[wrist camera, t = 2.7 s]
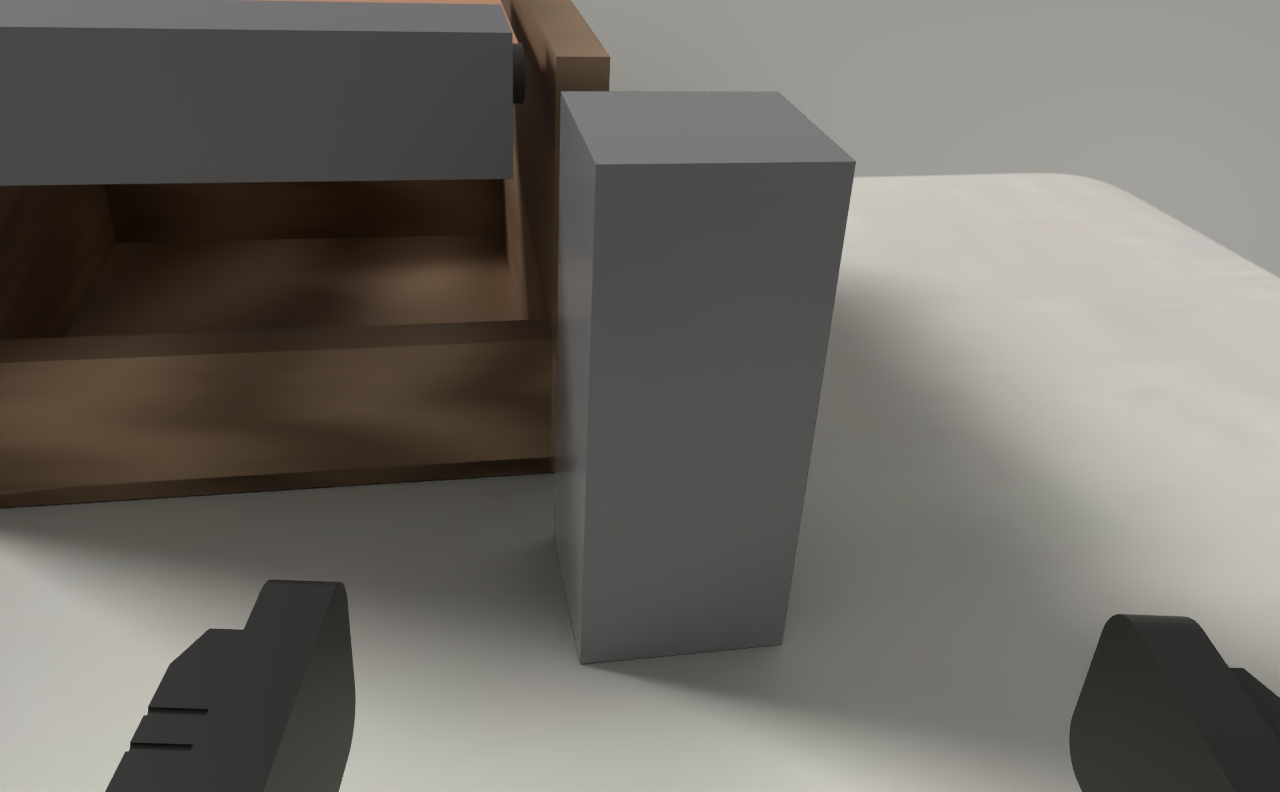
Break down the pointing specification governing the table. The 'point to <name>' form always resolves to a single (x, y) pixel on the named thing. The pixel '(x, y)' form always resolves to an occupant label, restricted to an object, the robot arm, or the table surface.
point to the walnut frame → (291, 319)
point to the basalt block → (688, 361)
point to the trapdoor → (256, 91)
